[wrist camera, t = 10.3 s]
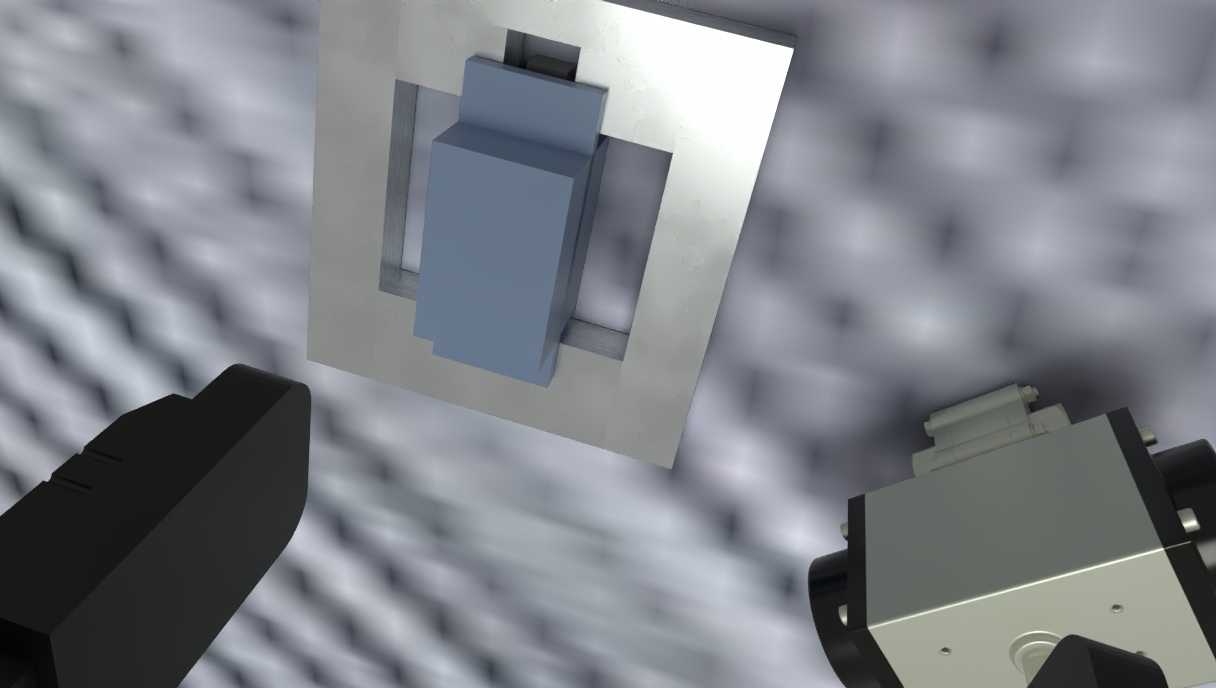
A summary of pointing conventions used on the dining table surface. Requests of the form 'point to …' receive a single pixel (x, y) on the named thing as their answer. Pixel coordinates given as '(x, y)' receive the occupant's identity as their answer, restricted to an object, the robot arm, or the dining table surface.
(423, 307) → the block
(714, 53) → the plate
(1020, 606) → the pneumatic valve
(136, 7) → the dining table surface
